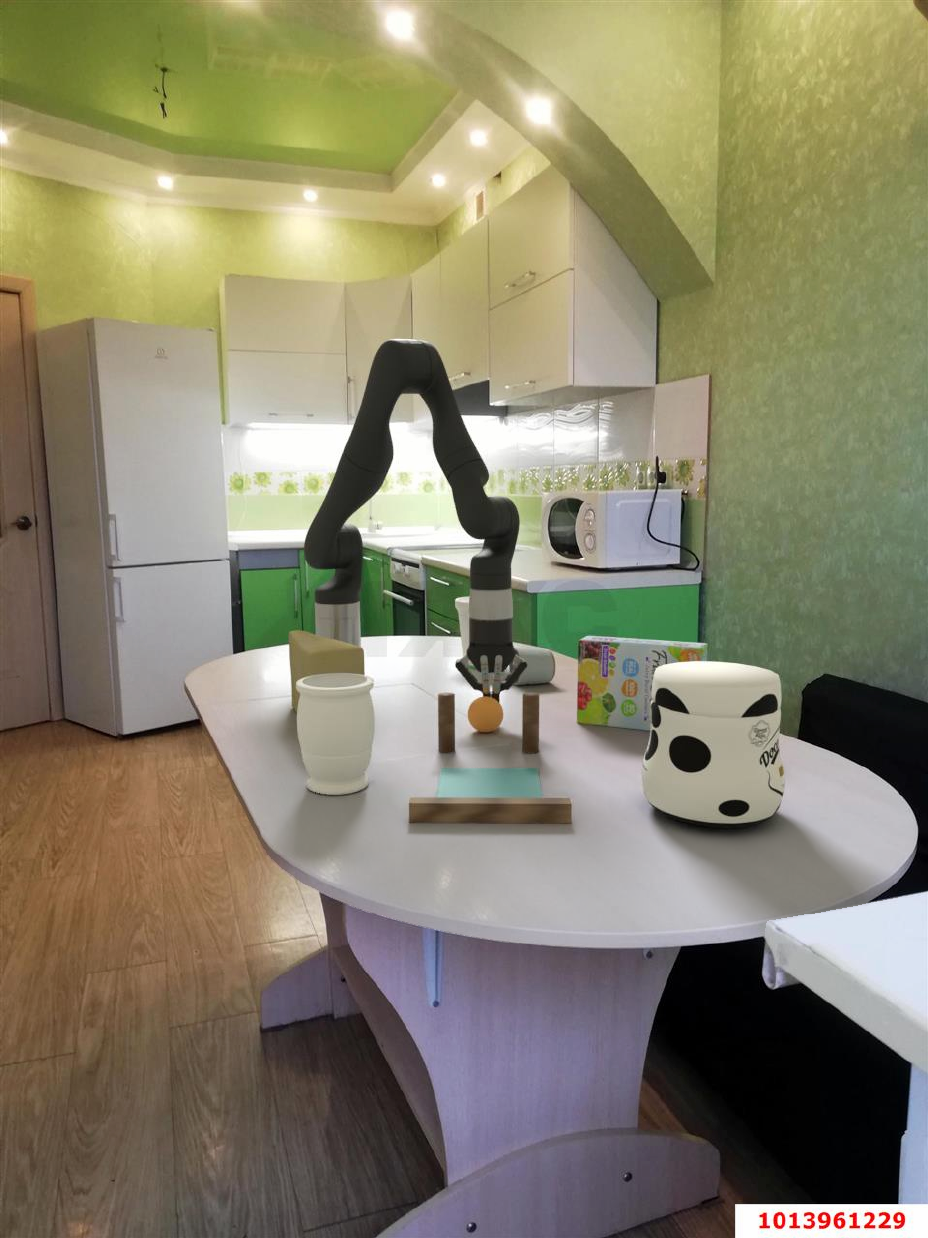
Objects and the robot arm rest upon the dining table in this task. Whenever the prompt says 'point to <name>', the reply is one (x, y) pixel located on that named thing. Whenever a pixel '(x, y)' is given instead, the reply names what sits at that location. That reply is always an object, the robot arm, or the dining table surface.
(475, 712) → the ball
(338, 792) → the jar
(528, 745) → the right post
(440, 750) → the left post
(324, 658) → the cheese
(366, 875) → the dining table surface
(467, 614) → the cup
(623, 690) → the snack box
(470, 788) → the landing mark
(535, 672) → the ceramic mug
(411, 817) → the rail
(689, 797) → the spotted treat canister
